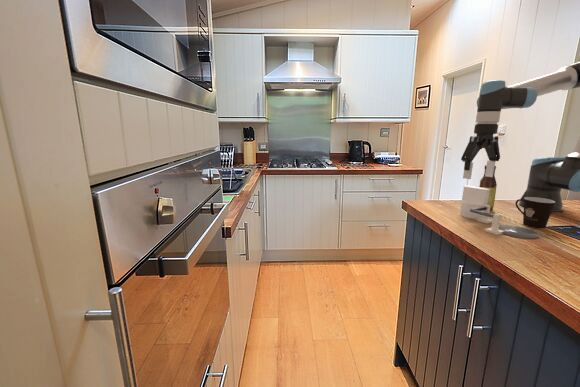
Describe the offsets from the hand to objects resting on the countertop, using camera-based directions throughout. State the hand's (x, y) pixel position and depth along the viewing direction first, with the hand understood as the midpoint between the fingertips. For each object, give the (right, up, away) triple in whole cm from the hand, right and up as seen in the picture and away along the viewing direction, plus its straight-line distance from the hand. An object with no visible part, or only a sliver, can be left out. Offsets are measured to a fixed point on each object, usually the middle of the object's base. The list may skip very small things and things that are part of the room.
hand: (478, 177), depth 114 cm
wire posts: (-2, -18, -9) cm, 21 cm away
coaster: (+3, -20, -15) cm, 25 cm away
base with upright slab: (0, -16, +4) cm, 16 cm away
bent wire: (-3, -14, -11) cm, 17 cm away
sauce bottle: (+11, -14, +13) cm, 22 cm away
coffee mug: (+16, -18, -7) cm, 25 cm away
